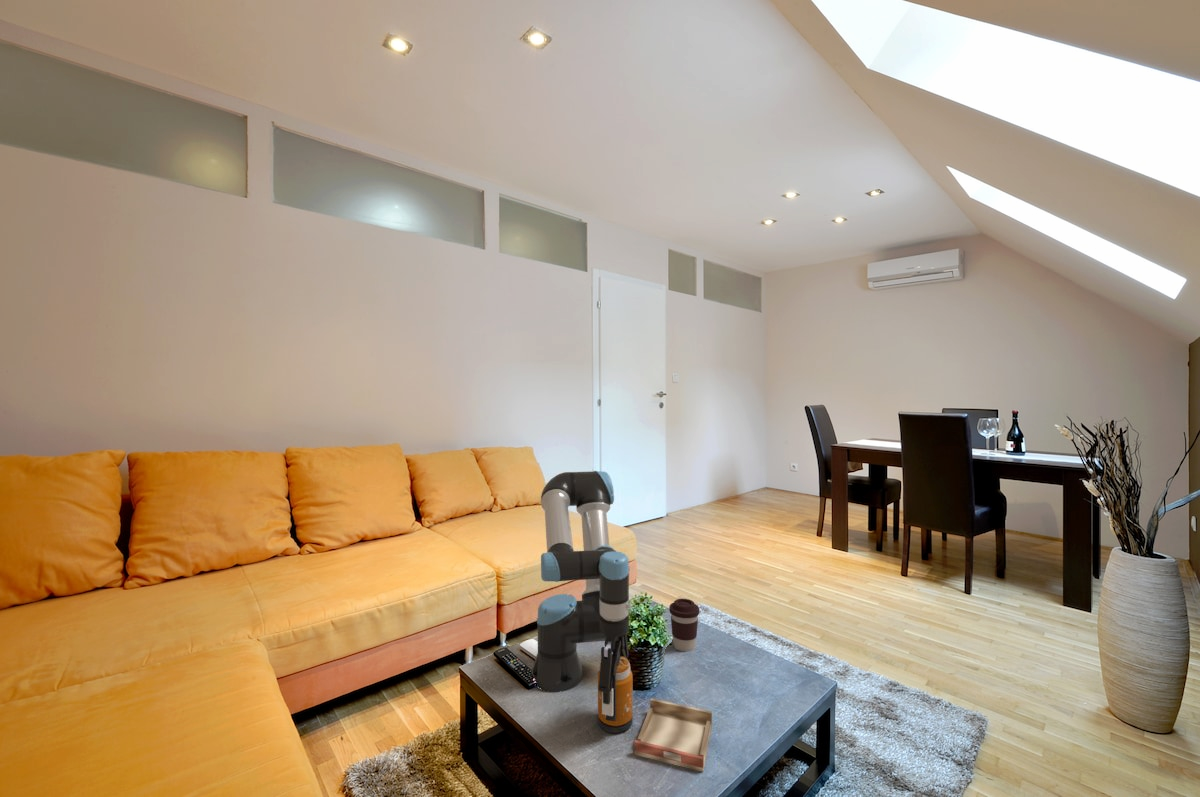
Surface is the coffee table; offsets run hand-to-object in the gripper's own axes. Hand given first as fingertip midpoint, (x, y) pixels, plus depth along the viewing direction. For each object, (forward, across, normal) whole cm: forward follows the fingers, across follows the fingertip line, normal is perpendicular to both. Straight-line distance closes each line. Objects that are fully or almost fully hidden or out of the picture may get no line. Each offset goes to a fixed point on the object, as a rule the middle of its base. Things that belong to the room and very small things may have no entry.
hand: (614, 700), depth 124 cm
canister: (+7, 0, 0) cm, 7 cm away
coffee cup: (+7, +44, -10) cm, 46 cm away
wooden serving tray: (+6, 0, -16) cm, 17 cm away
